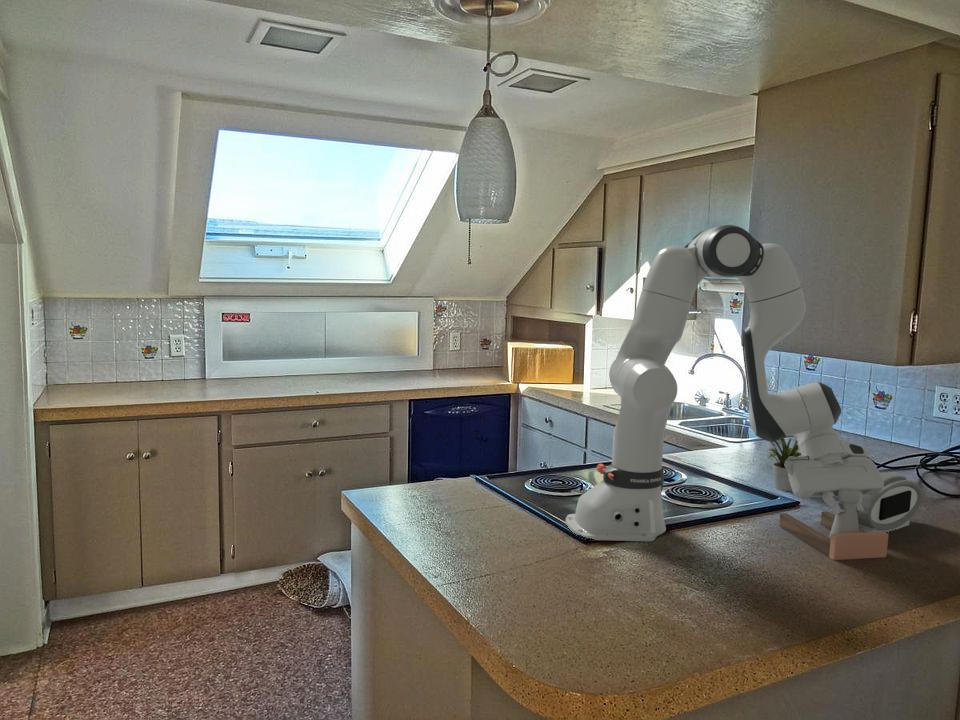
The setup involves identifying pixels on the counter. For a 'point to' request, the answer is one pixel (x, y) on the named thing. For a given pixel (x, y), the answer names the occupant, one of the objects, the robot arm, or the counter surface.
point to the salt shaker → (847, 513)
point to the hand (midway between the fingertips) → (849, 513)
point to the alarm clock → (890, 505)
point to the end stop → (858, 545)
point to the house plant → (779, 468)
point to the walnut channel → (810, 531)
